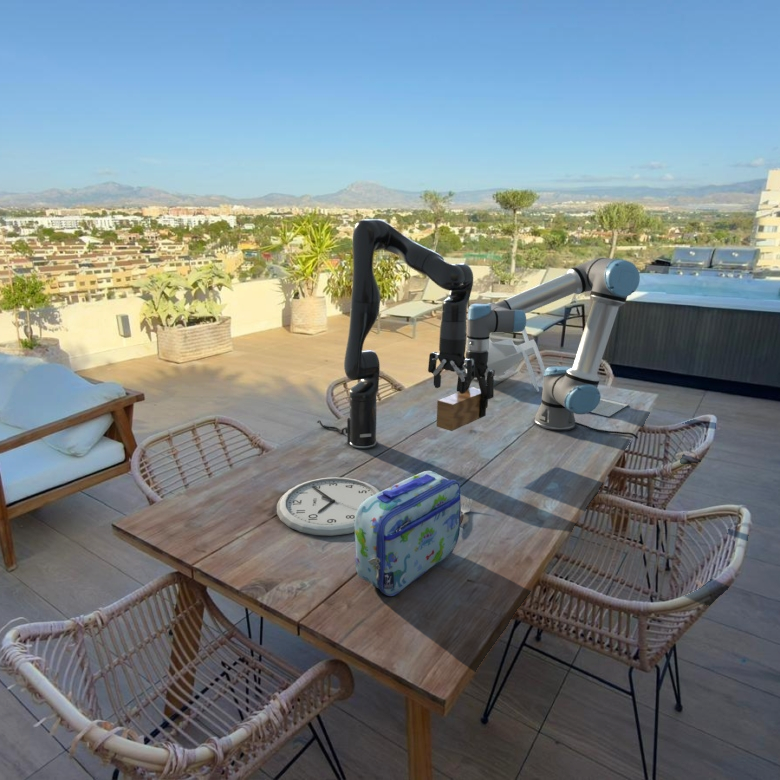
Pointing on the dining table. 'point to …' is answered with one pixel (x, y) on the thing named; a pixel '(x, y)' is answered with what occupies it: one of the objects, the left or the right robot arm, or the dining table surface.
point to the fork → (465, 509)
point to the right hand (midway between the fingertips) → (473, 414)
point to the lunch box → (406, 530)
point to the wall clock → (324, 505)
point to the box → (458, 409)
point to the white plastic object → (513, 356)
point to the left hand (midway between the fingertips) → (450, 390)
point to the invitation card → (608, 407)
